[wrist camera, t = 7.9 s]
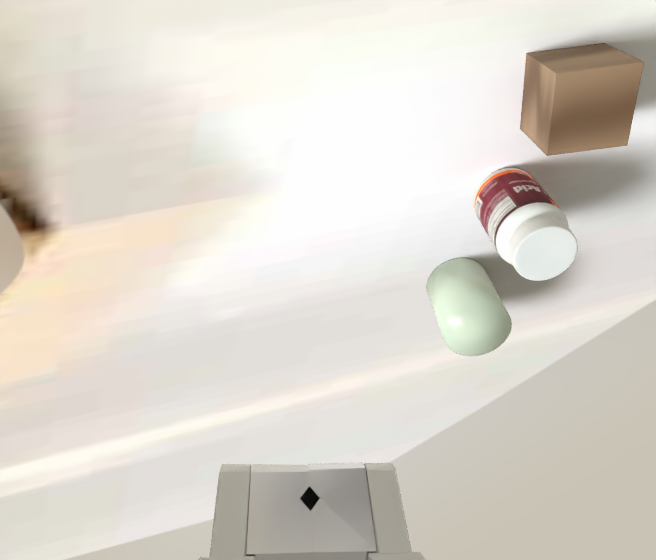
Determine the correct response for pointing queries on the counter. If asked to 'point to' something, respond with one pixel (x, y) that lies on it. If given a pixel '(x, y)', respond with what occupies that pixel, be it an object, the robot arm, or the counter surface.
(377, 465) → the robot arm
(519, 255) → the pill bottle
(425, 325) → the counter surface
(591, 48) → the walnut cube
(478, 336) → the sage cylinder
